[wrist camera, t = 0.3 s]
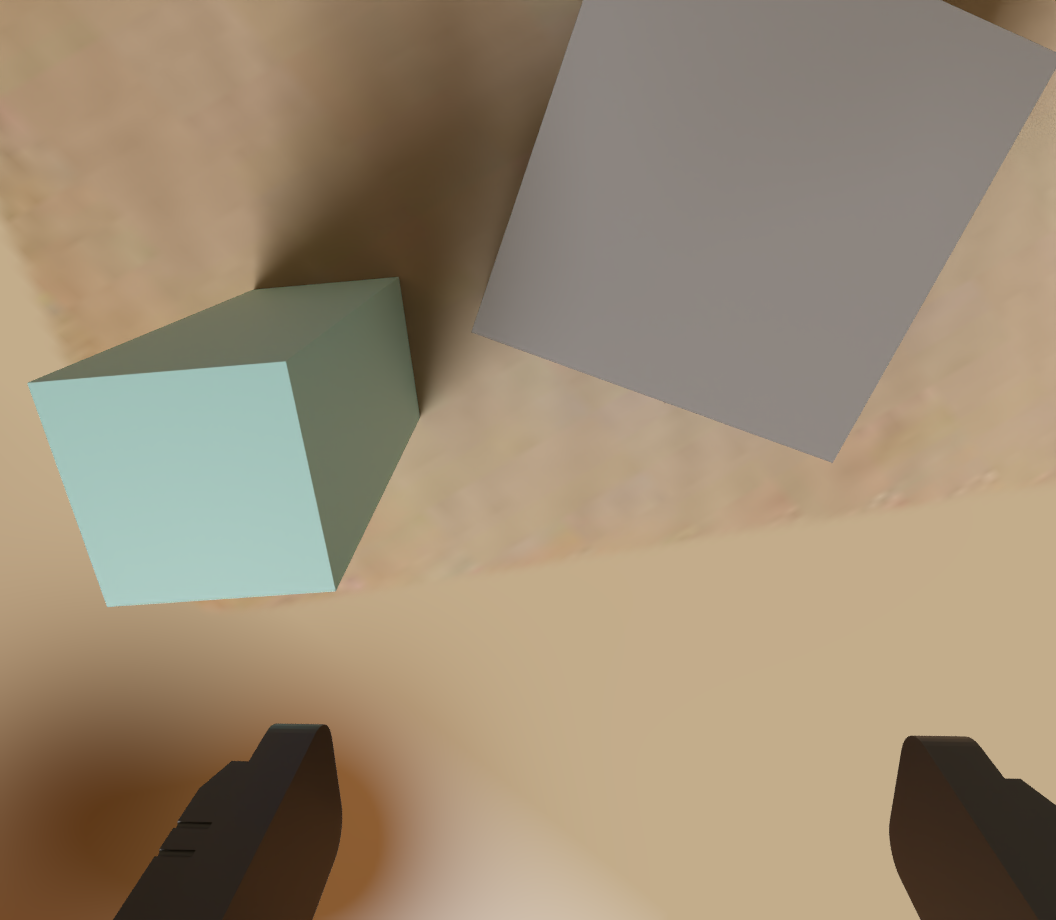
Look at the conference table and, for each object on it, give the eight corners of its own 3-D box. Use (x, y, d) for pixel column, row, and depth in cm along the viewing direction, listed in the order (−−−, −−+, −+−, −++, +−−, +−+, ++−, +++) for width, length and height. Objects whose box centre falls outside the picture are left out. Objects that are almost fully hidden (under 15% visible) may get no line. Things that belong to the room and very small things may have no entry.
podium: (613, -82, 25) (630, -141, 20) (969, 76, 26) (1063, 55, 21) (482, 306, 29) (471, 332, 25) (788, 419, 31) (832, 462, 26)
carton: (253, 289, 29) (27, 382, 16) (398, 276, 29) (285, 361, 16) (284, 427, 32) (107, 606, 19) (420, 417, 31) (336, 591, 18)
